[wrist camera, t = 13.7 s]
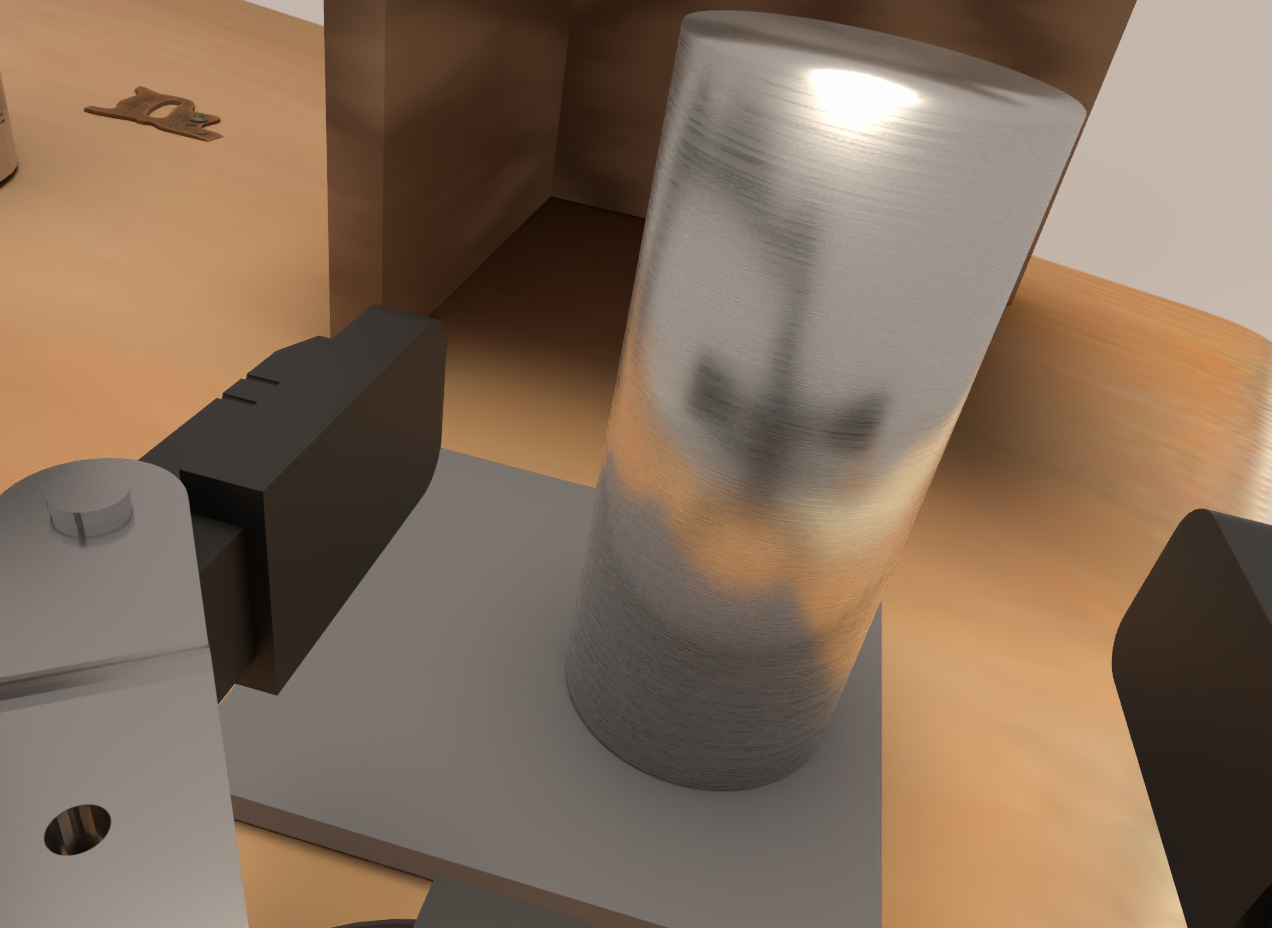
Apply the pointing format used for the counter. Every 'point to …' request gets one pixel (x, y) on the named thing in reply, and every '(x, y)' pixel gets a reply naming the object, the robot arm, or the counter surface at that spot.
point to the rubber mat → (536, 741)
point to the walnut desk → (574, 113)
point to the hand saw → (176, 122)
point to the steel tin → (792, 373)
